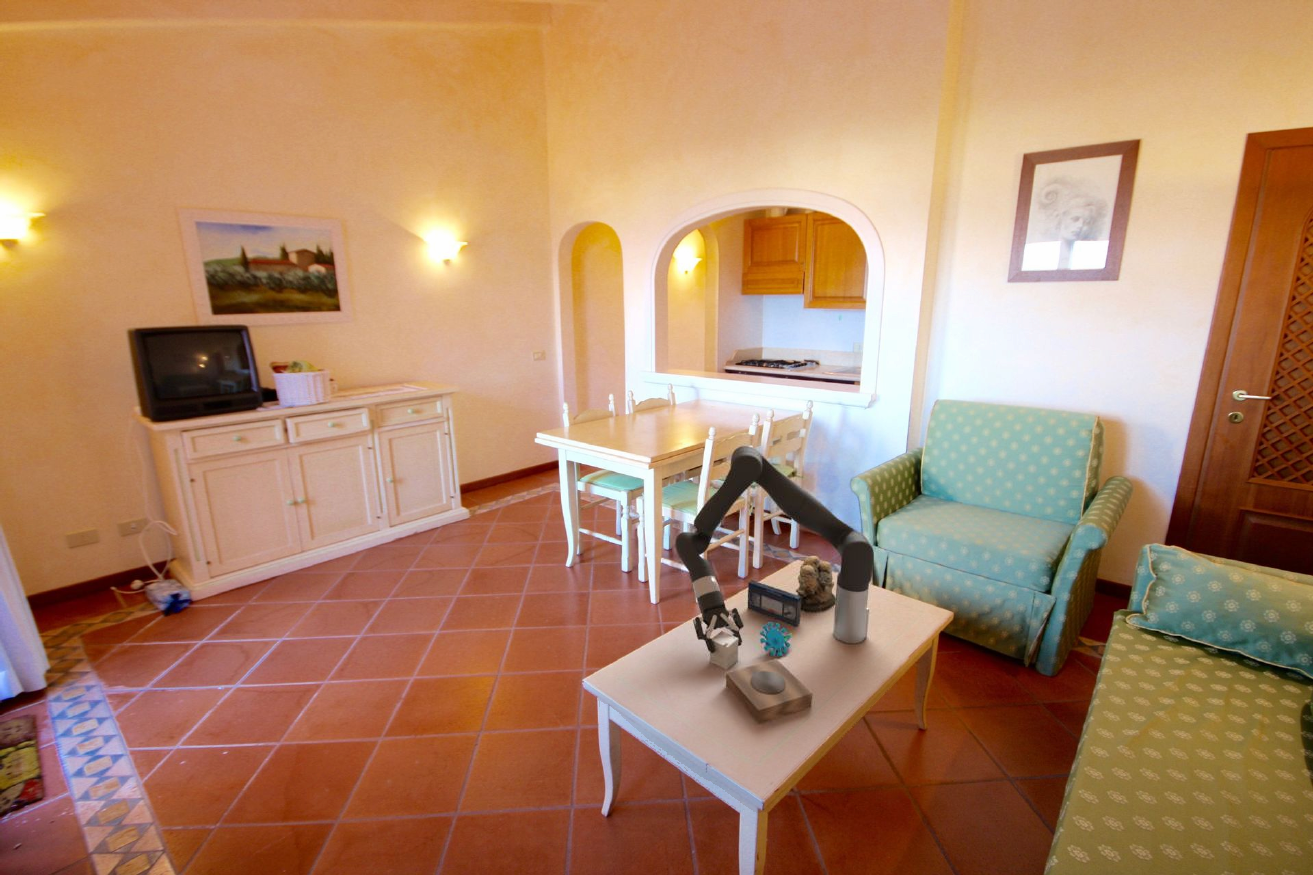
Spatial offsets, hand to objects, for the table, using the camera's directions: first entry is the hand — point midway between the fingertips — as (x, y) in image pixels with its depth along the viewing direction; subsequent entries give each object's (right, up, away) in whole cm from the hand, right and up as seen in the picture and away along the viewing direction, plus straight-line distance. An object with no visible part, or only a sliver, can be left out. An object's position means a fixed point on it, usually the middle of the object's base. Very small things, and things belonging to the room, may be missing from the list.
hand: (726, 649), depth 167 cm
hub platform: (+9, -8, -13) cm, 18 cm away
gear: (+16, -3, +8) cm, 18 cm away
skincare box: (-1, -4, +2) cm, 5 cm away
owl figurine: (+34, +3, +35) cm, 49 cm away
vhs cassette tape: (+18, +1, +26) cm, 32 cm away
